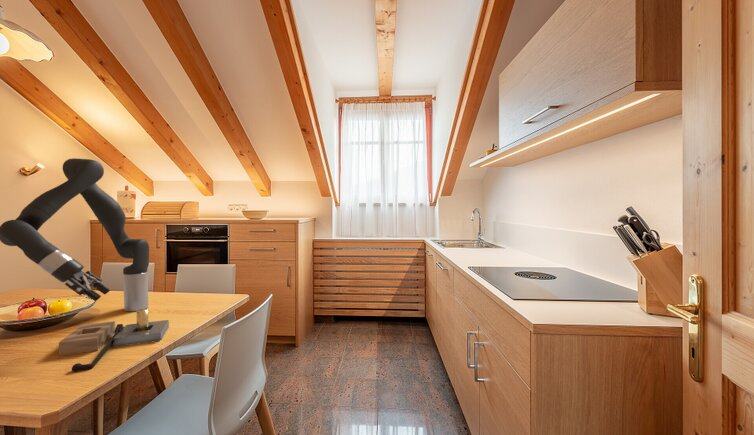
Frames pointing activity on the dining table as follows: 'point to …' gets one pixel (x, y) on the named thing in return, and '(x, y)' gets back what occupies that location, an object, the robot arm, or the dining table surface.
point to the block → (141, 333)
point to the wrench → (89, 366)
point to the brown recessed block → (87, 338)
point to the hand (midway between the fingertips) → (103, 295)
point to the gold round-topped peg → (142, 320)
